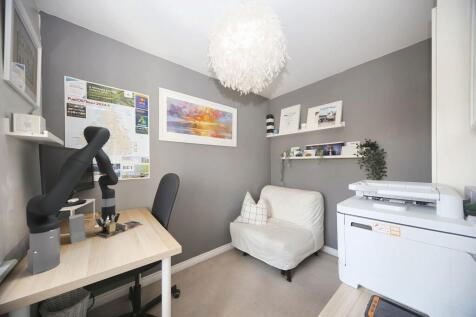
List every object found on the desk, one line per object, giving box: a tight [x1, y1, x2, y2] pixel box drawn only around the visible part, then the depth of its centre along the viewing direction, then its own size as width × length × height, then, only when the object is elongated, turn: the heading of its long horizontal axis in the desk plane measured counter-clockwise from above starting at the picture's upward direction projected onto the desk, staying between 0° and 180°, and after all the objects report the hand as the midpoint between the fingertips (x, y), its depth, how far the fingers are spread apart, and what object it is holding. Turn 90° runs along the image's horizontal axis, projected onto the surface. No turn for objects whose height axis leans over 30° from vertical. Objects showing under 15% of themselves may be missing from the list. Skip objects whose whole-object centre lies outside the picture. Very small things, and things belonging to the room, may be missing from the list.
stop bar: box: [100, 221, 116, 234], centre depth 111 cm, size 9×4×6 cm, turn 67°
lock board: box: [91, 220, 144, 240], centre depth 117 cm, size 25×16×5 cm, turn 157°
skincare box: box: [68, 213, 87, 245], centre depth 102 cm, size 8×7×16 cm
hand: (108, 230), depth 111 cm, fingers closed on stop bar, 3 cm apart
